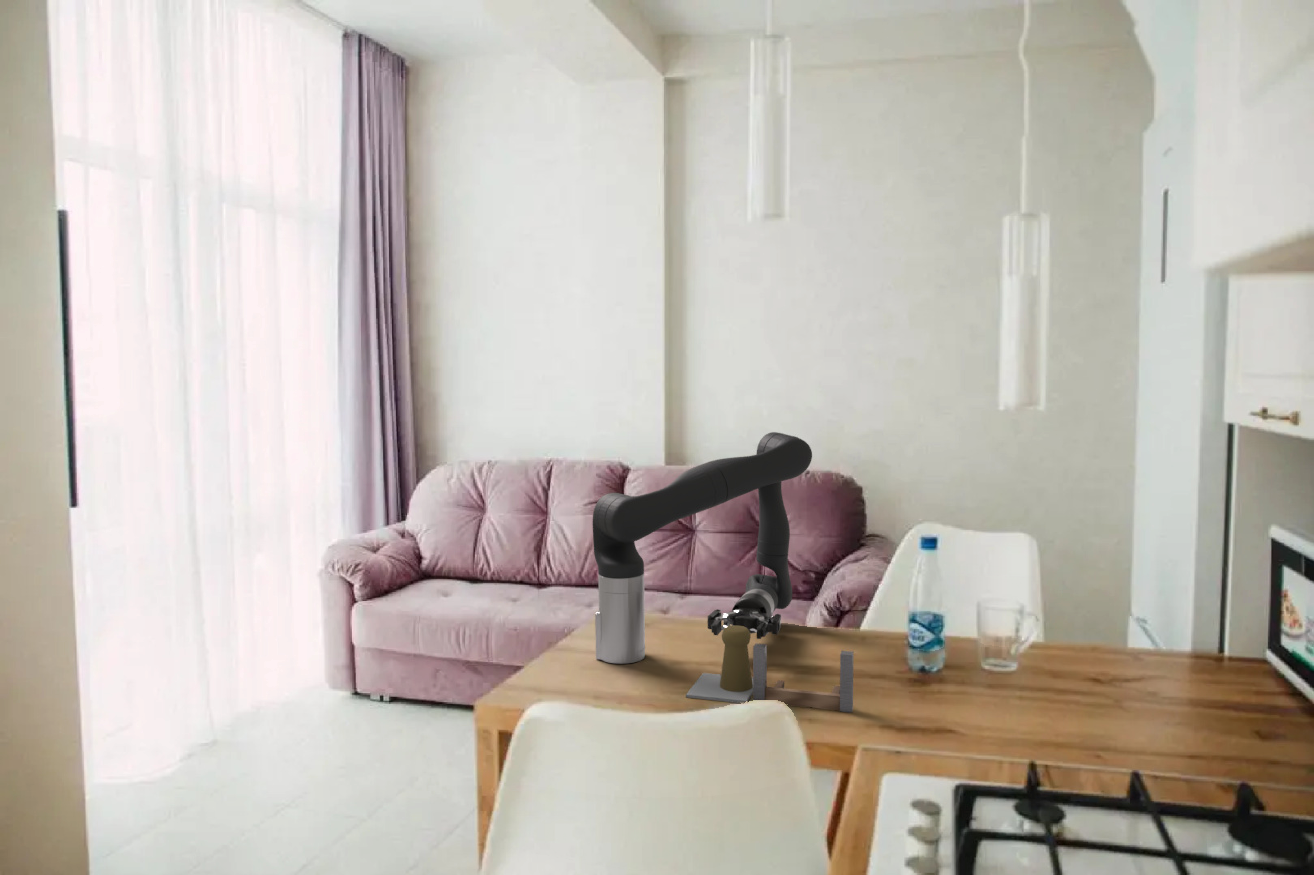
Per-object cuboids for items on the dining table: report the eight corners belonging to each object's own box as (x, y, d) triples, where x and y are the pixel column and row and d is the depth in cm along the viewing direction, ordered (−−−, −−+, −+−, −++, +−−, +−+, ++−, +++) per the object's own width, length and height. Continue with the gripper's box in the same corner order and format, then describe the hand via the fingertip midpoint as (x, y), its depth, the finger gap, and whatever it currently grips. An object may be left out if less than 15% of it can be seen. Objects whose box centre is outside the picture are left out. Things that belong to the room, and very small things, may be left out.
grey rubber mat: (686, 697, 166) (685, 694, 166) (703, 675, 177) (703, 672, 177) (746, 703, 162) (746, 700, 162) (760, 680, 174) (760, 678, 174)
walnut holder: (753, 702, 163) (753, 646, 162) (762, 685, 171) (762, 632, 170) (851, 712, 158) (852, 655, 157) (856, 695, 166) (857, 640, 165)
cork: (751, 680, 173) (751, 622, 172) (754, 691, 167) (754, 631, 166) (718, 680, 173) (718, 622, 172) (720, 691, 167) (720, 631, 166)
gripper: (720, 590, 197) (701, 610, 181) (787, 595, 192) (773, 615, 177) (720, 625, 197) (701, 648, 182) (787, 630, 193) (773, 654, 178)
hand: (736, 632), depth 179 cm, fingers open, 8 cm apart
